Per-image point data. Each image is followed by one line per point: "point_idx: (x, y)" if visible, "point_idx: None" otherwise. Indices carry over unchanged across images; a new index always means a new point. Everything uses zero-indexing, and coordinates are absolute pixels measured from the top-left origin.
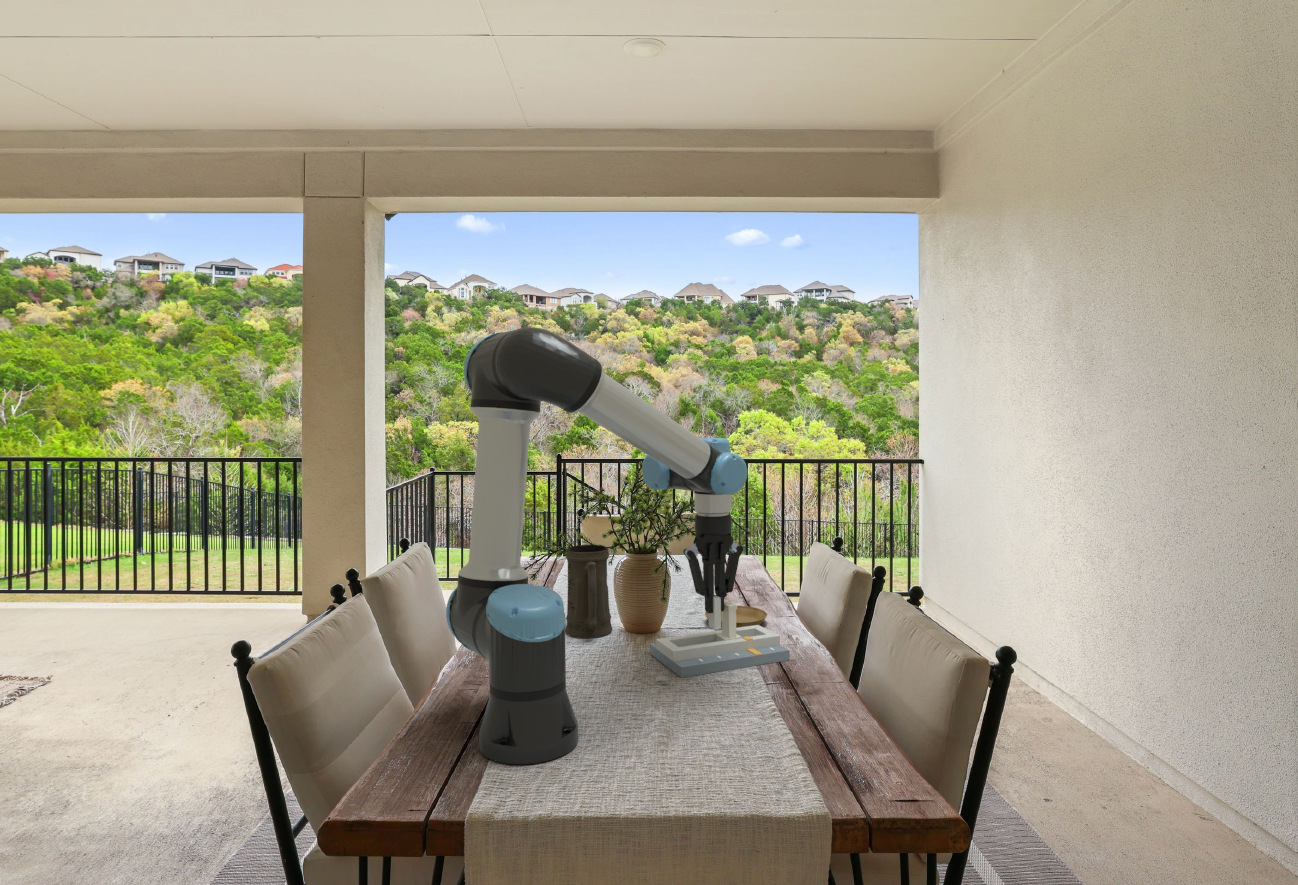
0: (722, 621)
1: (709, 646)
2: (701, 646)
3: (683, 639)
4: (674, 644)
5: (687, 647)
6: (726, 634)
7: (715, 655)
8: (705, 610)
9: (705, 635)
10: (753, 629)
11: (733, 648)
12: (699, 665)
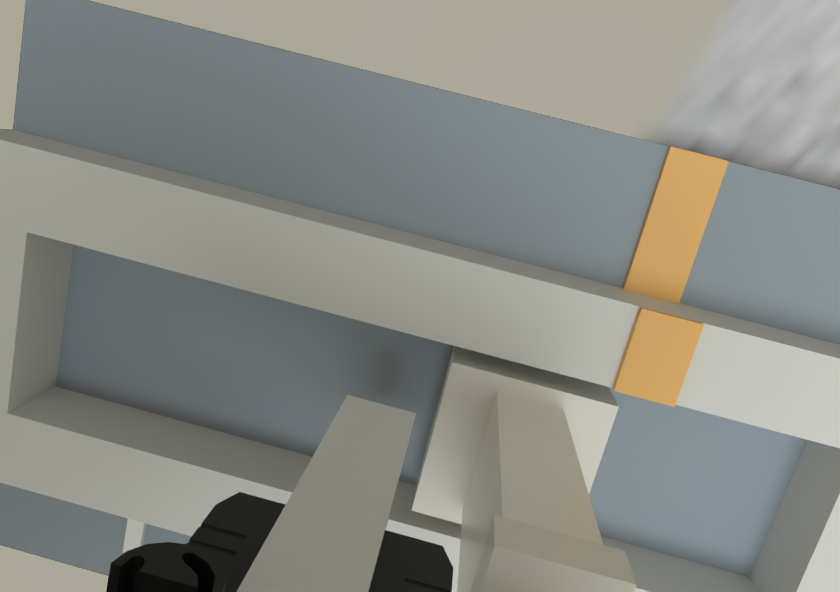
0: (495, 450)
1: None
2: (158, 510)
3: (161, 264)
4: (14, 342)
5: (58, 461)
6: (474, 472)
7: None
8: (225, 503)
9: (362, 319)
10: (838, 445)
11: None
12: (96, 566)
